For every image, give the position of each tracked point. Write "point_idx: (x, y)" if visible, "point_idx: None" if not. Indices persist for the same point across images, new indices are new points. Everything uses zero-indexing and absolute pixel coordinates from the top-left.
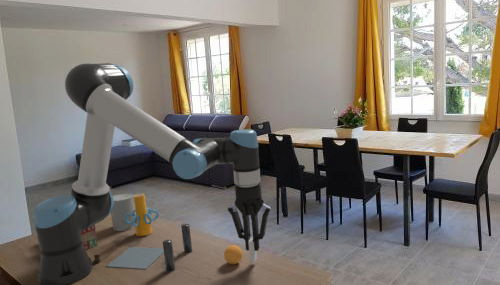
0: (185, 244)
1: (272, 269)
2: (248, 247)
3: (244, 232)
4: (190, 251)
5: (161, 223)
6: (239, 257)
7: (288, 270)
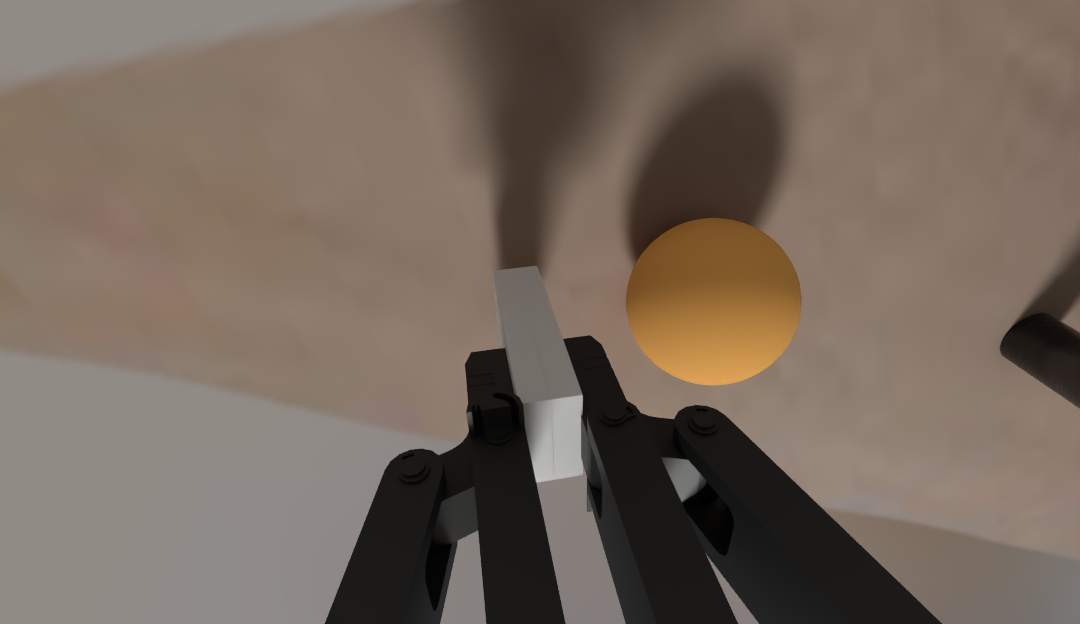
0: None
1: (318, 244)
2: (574, 357)
3: (664, 482)
4: (1016, 331)
5: None
6: (641, 273)
7: (163, 261)
